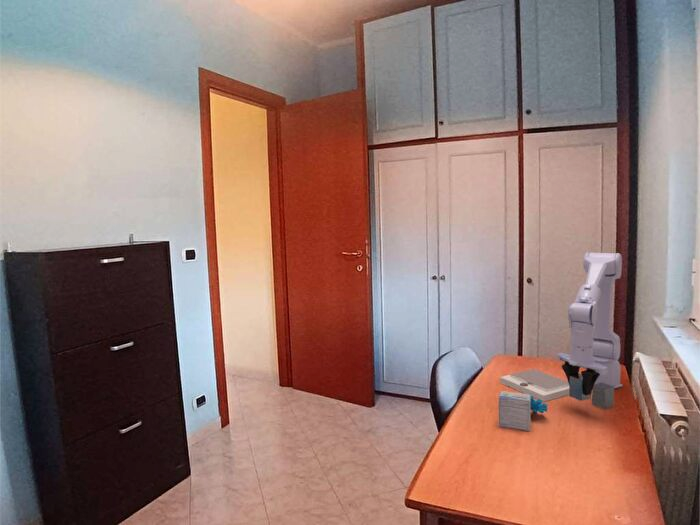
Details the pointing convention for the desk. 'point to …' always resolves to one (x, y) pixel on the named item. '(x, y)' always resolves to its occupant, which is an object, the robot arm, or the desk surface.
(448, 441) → the desk surface
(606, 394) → the block
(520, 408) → the medicine box
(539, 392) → the kitchen scale
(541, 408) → the gear
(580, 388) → the block
